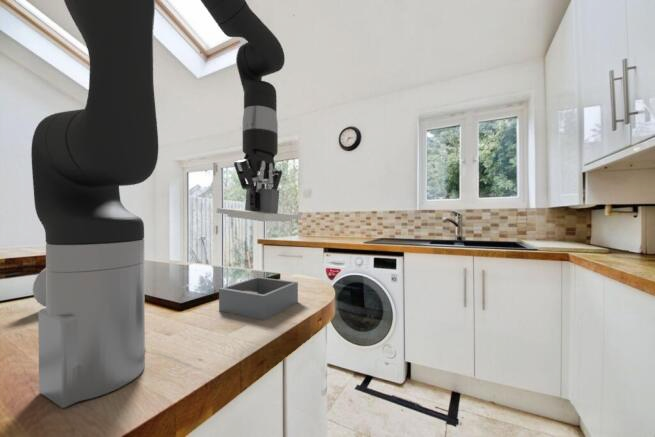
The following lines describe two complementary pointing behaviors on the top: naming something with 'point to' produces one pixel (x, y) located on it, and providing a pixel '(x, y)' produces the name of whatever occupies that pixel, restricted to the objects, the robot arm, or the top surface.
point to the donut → (40, 288)
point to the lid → (261, 208)
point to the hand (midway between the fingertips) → (260, 210)
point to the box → (258, 297)
